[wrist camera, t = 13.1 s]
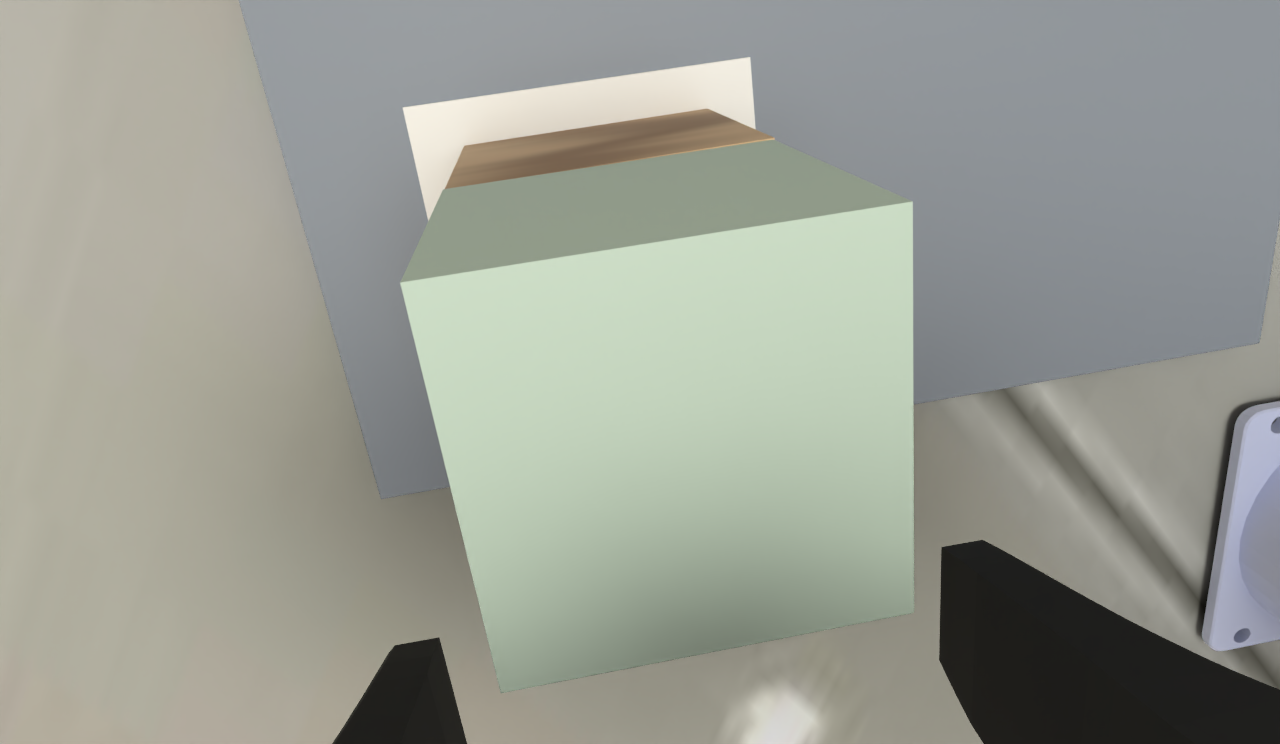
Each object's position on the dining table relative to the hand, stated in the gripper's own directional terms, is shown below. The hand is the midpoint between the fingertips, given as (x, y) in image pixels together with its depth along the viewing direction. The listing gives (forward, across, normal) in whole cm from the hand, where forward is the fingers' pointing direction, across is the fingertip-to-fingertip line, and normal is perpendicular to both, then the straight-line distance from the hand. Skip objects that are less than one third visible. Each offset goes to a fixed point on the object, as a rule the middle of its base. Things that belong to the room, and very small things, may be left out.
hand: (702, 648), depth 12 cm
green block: (+3, 0, -4) cm, 5 cm away
